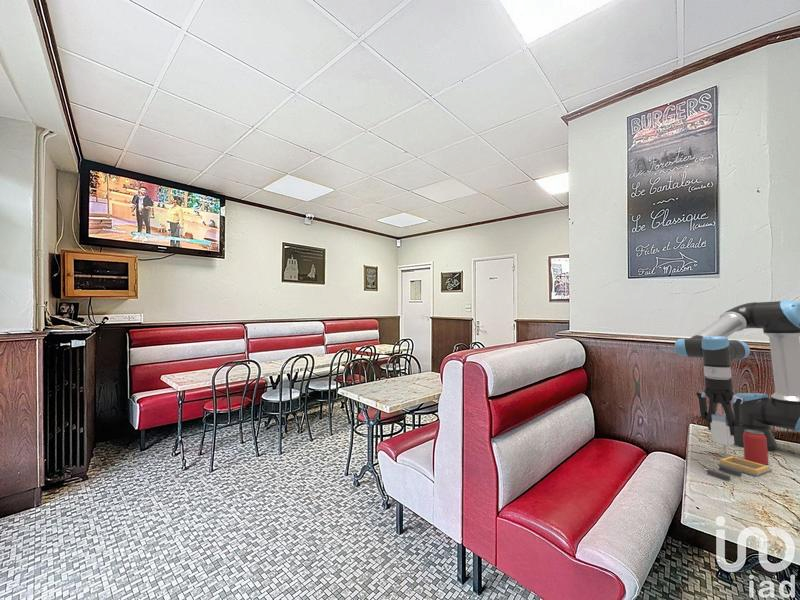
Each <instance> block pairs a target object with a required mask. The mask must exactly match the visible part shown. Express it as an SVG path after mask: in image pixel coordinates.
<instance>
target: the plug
mask: <svg viewBox="0 0 800 600" xmlns="http://www.w3.org/2000/svg"><path fill="white" fill-rule="evenodd" d="M728 425H729V424H728V420H727V417H726V414H725V413H720V412H715V414H712V427H713V438H714V441H713V442H714V443H718V444H721V445H723V446H724V445H726V446H730V445H729V444H728V440H727V427H726V426H728Z"/></svg>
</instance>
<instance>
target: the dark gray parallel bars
mask: <svg viewBox="0 0 800 600" xmlns="http://www.w3.org/2000/svg"><path fill="white" fill-rule="evenodd" d="M719 471H721V472H719ZM725 473H726V474H725ZM706 474H707V475H708V476H712V477H714V476H715V478H717V477H718V478H717V479H721V480H724V481H727V482H729V481H731V475H733V476H737V477H740V478H741V477H742V476H743V473H742V472H741V471H737V470H734V469H731V468H728V467H724V466H718V471H716V470H713V469H707V470H706ZM728 474H730V475H728Z"/></svg>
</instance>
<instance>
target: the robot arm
mask: <svg viewBox="0 0 800 600" xmlns="http://www.w3.org/2000/svg"><path fill="white" fill-rule="evenodd" d="M745 329H762V331H763V334H764V335H766V336H767V337H768V340H769V349H770V356H771V365H772V372H773V374H772V375H773V379H774V380H773V381H774V390H775V392H774V393H772V394H771V395H770V398H769V395H768V394H767V393H759V392H741V393H740V392H739V393H734V392H733V390H734V389H733V380H732V379H731V378H733V377H732V368H731V367H732V366H731V361H741V360H743V359H746V358H747V357H749V355H750V353H751V349H750V346H749V345H748V343H746V342H744V341H743V340H739V339H738V340H736V339H730V340H729V338H728V337H730V336H731V335H733V334H734V333H736V332H741V331H743V330H745ZM674 351H675V353H676V354H677V355H678V356H681V357H687V358H701V359H703V364H702V365H703V373H704V374H703V376H705V377H704V387H705V389H704V391H698V392H696V396H697V398H698V404H699V412H700V413H699V414H700V418H701V419H702V420H705V421H706V422H707V430H708V431H710V435H711V441H713V442H714V438H713V427H712V414H716V413H717V406H718V404H721V406H722V408H723V411H724V414H725V415H726V417H727V420H728V424H729V425H728V426H726V427H727V440H728V444H729V445H728V446H731V445H736V446H739V447H742V448H744V443H743V433H744V430H746V429H749V430H757V431H761V432H763V433H764V435H765V437H766V439H767V452H769V451H770V452H775V451H778V450H779V447H778V443H777V441H776V439H775V436H774V434H773V433H772V431H771V426H772V427H775V428H776V427H778V428H780V429H786V430H791V431H795V432H800V301H796V300H777V301H761V302H755V301H754V302H747V303H742V304H740V305H737V306H734V307H733V308H730V309H728V310H726V311H724V312H723V313H722V314H721V315H720V316H719V318H718V319H717V320H716V321H714V322H712V323H710V324H709V325H708V326H706V327H705V328H703V329H702V330H700V331H699V332H697V333H695V334H694V335H692V336H691V337H689V338H678V339H677V340H676V341H675V343H674ZM707 397H708V399H709V400H708V404H709V405H708V404H707ZM707 405H708V406H707Z"/></svg>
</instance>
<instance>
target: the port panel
mask: <svg viewBox="0 0 800 600" xmlns="http://www.w3.org/2000/svg"><path fill="white" fill-rule="evenodd" d="M717 466H718V467H719V466H724V467H728V468H731V469H734V470H737V471H741V472H742V474H744V475H747V476H749V477H755V478H757V477H760V476H762V475H766V474H768V473H771V472H772V469H771V468H770V465H762V464H759V463H755V462H751V461H748V460H745V458H744V459H743V458H740V457H737V456H733V455H731V456H728V457H727V456H726V457H724V458H721V459H719V463H717Z"/></svg>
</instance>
